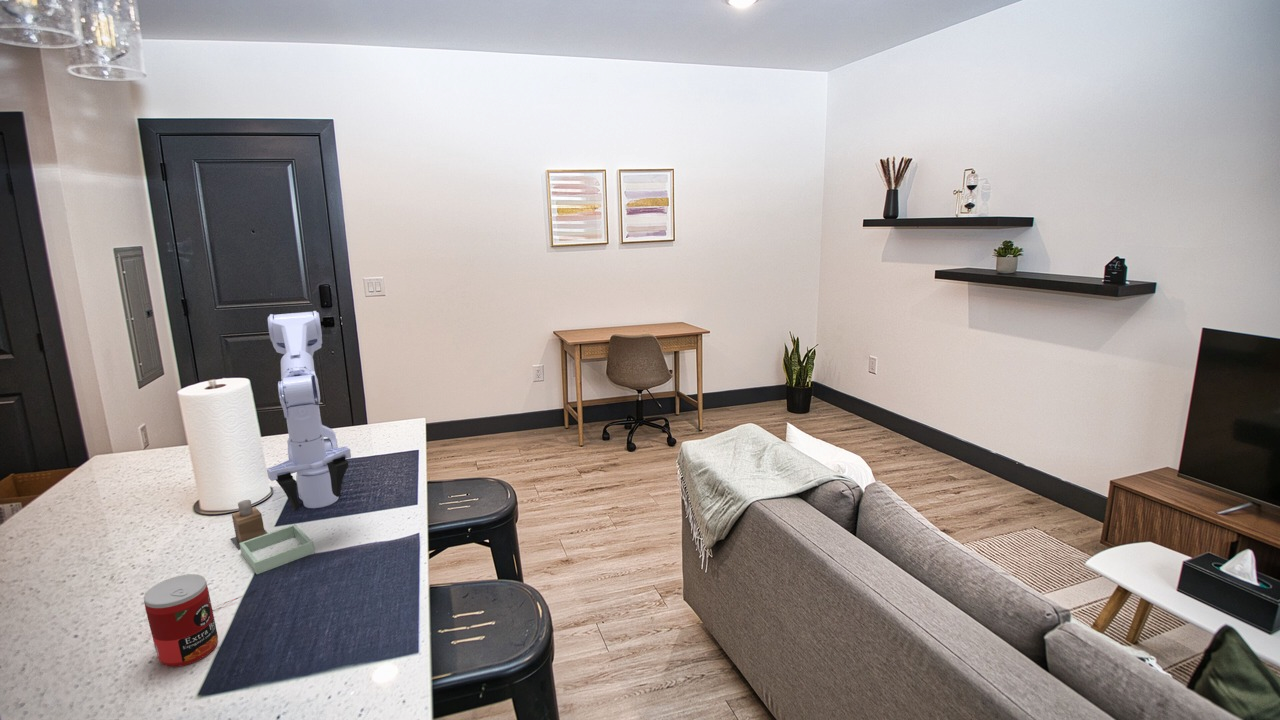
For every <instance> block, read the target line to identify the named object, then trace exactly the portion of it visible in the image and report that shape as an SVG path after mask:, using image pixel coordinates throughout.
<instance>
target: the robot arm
mask: <svg viewBox="0 0 1280 720" xmlns="http://www.w3.org/2000/svg"><path fill="white" fill-rule="evenodd" d="M321 325H322V324H321V319H320V313H319V312H317V310H313V311H303V312H291V313H281V314H272V313H270V314H269V316H267V327H268V333H269V334H268V335H269V339H270V342H271V343H272V346H273V348H274V350H275V352H276V353H279V354H281V355H282V357H281V359H280V379H281V380H279V381H278V382H277V390H278V397H279V402H280V405H281V408H282V410H283V416H284V418H285V419H286V425H287V433H288V438H287V441H286V442H287V443H286V444H287V456H288V457H287V458H288V459H287V460H285V461H283V462H281V463H279V464H278V463H277V464H275V465H273V466H270V467H268V468H266V472H267V478H268V479H269V480H270V481H272V482H274V481H276V482H277V484H278V485H279V486H280V488H281V489H282V490H283V492H284V494H285V495H286V497H287V499H288V502H289V503H290V506H291V509H293V510H294V511H296V512H297V511H300V502H299V499H300V500H301V501H302V503H303V506H304V507H305V508H308V509H317V508H319V509H320V508H324V507H327V506H330V505H332V504H334V503H336V502H337V501H338V500H339V497H340V496H341V490H342V485H343V481H344V477H345V474H346V471H347V470H348V468H349V461H348V459H350V458H352V454H351V448H350V447H348V446H347V445H345V446H341V447H339V446H338V445H339V444H338V438H337V437H336V432H335V430H334V429H333V428H330V427H328V426H327V425H324V424H323V423H322V418H321V410H320V403H321V394H320V393H321V392H320V386H319V379H318V377H317V375H316V370H315V363H314V362H315V361H314V354H315V352H316V351H318V350H320V349H321V348H322V344H323V338H322V337H323V334H322V333H323V332H322V326H321ZM295 473H296V475H295V478H294V476H293V475H292V474H295ZM297 491H298V492H297ZM297 493H298V494H297ZM298 497H299V498H298Z"/></svg>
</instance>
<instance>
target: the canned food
mask: <svg viewBox="0 0 1280 720" xmlns="http://www.w3.org/2000/svg"><path fill="white" fill-rule="evenodd" d="M143 603H144V608H145V612H146V617H147V620H148V624H149V628H150V633H151V637H152V640H153V644H154V648H155V653H156V656H157V659H158V661H159V662H160V663H161V664H162V665H163V666H165V667H172V668H175V667H176V668H177V667H183V666H187V665H190V664H193V663H195V662H197V661H200V660H202V659H203V658H205V657H206V656H208V655H209V654H210V653H211V652H212V651H214V649H215V648H216V647H217V644H218V638H219V636H218V631H217V627H216V621H215V616H214V611H213V606H212V601H211V596H210V591H209V587H208V582H207V581H206V578H205V577H204V576H203V575H200V574H196V573H195V574H193V573H192V574H181V575H177V576H173V577H170V578H168V579H165V580H162V581H160V582H157V583H155V585H153V586H152V587H150V588H149V589H148V590H147V591H146V592H145V593H144V595H143Z"/></svg>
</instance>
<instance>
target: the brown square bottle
mask: <svg viewBox="0 0 1280 720" xmlns="http://www.w3.org/2000/svg"><path fill="white" fill-rule="evenodd" d="M237 507H238V511H237V512H234V513H231V518H232V523H233V528H234V533H235V537H236V539H237V540H238V541H239V543H241V542H244V541H247V540H250V539H253V538H256V537H259V536H262V535H264V534H265V531H266V530H265V531H264V529H265V525H264V519H263V514H262V512H261V511H260V510H259V509H258V508H257V506H252V501H251V500H250V499H245V500H241V501H239V502H237Z"/></svg>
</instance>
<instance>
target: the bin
mask: <svg viewBox="0 0 1280 720" xmlns="http://www.w3.org/2000/svg"><path fill="white" fill-rule="evenodd" d="M291 538H296V540H297V541H298V542H299V543H300V544H299V545H296V546H294V547H290V548H288V549H285V550H283V551H280V552H277V553H274V554H272V555H269V556H266V557H264V558H260V559H257V558H256V557H255V555H254V554H253V552H255V551H258V550H261V549H263V548H266V547H267V548H268V547H269V546H273V545H275V544H277V543H281V542H282V541H286V540H289V539H291ZM239 544H240V550H239V551H240V553H241V556H242V557H243V558H244V560H245V561H246V562H247V564H248V565H249V566H250V568H251V569H252V570H253V571H254V573H255V574H256V575H260V574H262V573H266V572H267V571H270V570H272V569H276V568H278V567H280V566H283V565H286V564H289V563H291V562H294V561H297V560H299V559H301V558H304V557H307V556H310V555H312V554H315V546H314V542H313V540H312V539H311V538H310V537H309V536H308V535H307V534H306V533H305V532H304V531H303V530H302V529H301V528H300V527H299V526H298V525H297V524H296V523H294V524H291V525H288V526H285V527H282V528H279V529H276V530H273V531H270V532H267V534H264V535H262V536H259V537H256V538H253V539H250V540H247V541H244V542H241V543H239Z"/></svg>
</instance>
